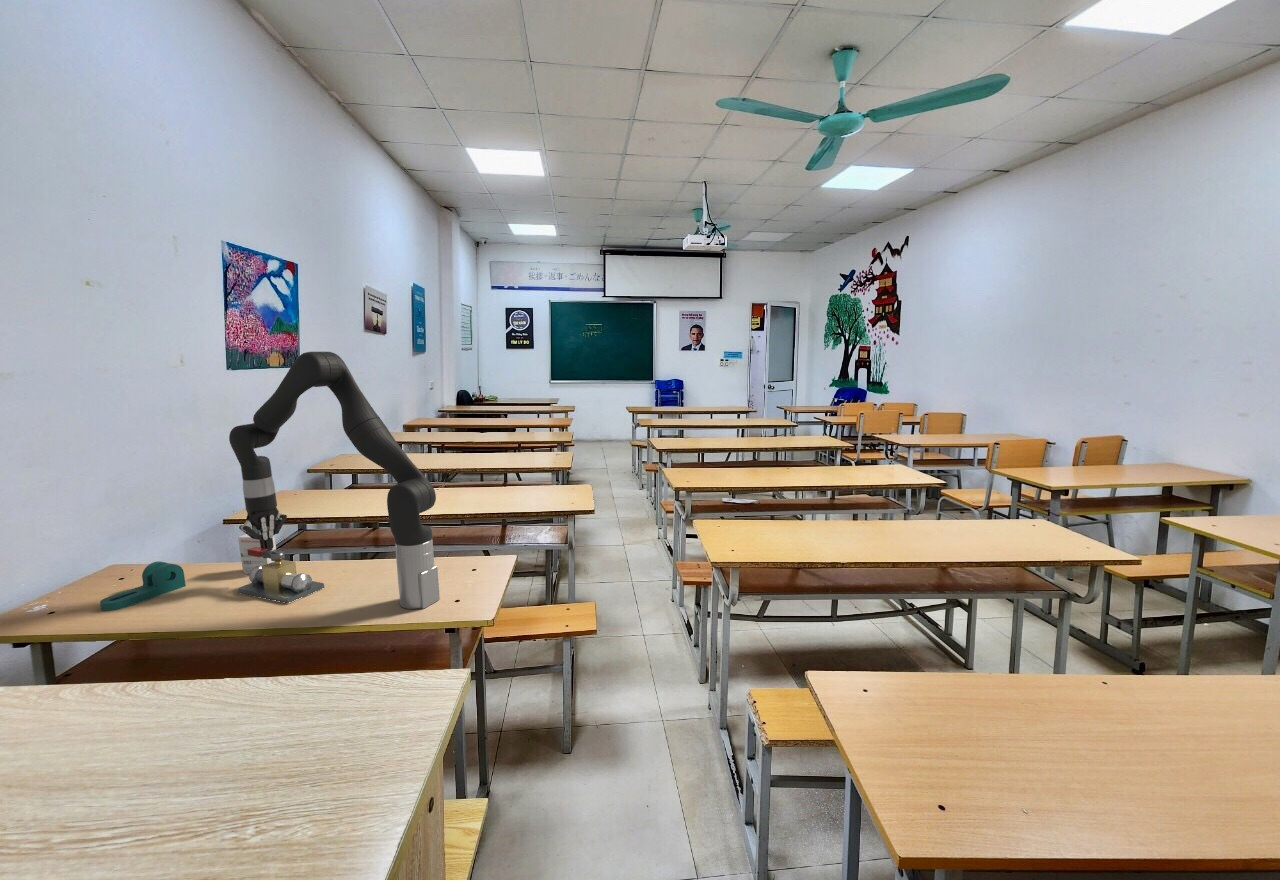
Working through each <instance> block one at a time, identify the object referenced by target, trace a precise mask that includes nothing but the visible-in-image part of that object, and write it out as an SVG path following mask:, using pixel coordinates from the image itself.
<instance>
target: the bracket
mask: <svg viewBox="0 0 1280 881" xmlns="http://www.w3.org/2000/svg"><path fill="white" fill-rule="evenodd" d="M184 571H185V570H184V569H183V568H182V566H180V565H178V564H175V563H168V562H165V561H153V562H151V563H150V564H148V565H146V567H144V569H143V571H142V574H141V578H142V585H140V586H137V587H133V588H131V589H128V590H125V591H122V592H118V593H116V594H112V595H110V596H107V597H105V598H102V599H101V600H100V601H99V605H100V609H101V611H103V612H112V611H118V610H123V609H125V608H129V607H131V606H134V605H137V604H140V603H143V602H145V601H148V600H151V599H154V598H156V597H159V596H163V595H166V594H167V593H168V594H169V593H171V592H173V591H174V592H175V591H176V590H180V589H182V588H185V587H186V578H185V572H184Z"/></svg>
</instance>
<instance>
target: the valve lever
mask: <svg viewBox="0 0 1280 881" xmlns="http://www.w3.org/2000/svg"><path fill="white" fill-rule="evenodd" d="M247 550H248V555H249V556H254V557H259V558H260V557H265V558H270V559H271V561H279V560H285V559H286V557H285V551H284V550H276V552H275V551H270V550H267V549H266V548H261V547H253V548H250V549H247Z"/></svg>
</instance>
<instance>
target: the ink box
mask: <svg viewBox="0 0 1280 881" xmlns="http://www.w3.org/2000/svg"><path fill="white" fill-rule="evenodd" d="M273 545H274V546H273V548H272V550H271V551H275V552H276V551H277V546H276V539H275V535H274V536H273ZM238 546H239V553H240V560H241V566H242V573H243V574H246V575H248V574H250V572H251V570H252V569H253V568H254V567H256V566H259V565H262V566H263V565H266V564H269V563H272V562H274V561H271V559H270V558H265V557H260V558H259V557H254V556H249V555H248V550H247V549H250V548H253V547H261V545H260V540H257V539H252V538H251V537H250V536H248V535H247V534H246V533H244V534H243V535H240V536H239V537H238Z"/></svg>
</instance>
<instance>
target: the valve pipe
mask: <svg viewBox="0 0 1280 881" xmlns="http://www.w3.org/2000/svg"><path fill="white" fill-rule="evenodd" d="M248 579H249V581H250V582H249V583H248V584H245V585H243V586H239V587H237V591H238V592H237V593H238V594H240V593H241V595H244V596H249V595H250V597H254V596H255V597H254V598H258V597H261V598H260V599H263V598H266V599H265V600H267V599H270V600H269V601H272V600H276V601H280V602H279V603H281V602H285V603H289V602H292V601H294V600H296V599H299V598H301V597H303V598H305V597H304V596H306V597H308V596H309V595H308V594H310V595H312V594H314V593H313V592H315V591H317V592H319V591H321V590H323V589H322V588H324V589H325V583H324V582H320V581H314V580H312V576H311V575H310V574H308V573H302V572H301V573H297V565H296V561H291V560H285V559H282V560H279V561H274V562H272V563H269V564H266V565H263V566H262V565H259V566H256V567H254V568H253V569H252V570H251V572H250V574H249V575H248ZM320 589H321V590H320ZM318 590H319V591H318ZM311 593H312V594H311ZM315 593H316V592H315ZM307 595H308V596H307ZM301 599H302V598H301ZM299 600H300V599H299ZM276 601H275V602H276ZM294 602H295V601H294ZM285 603H284V604H285ZM292 603H293V602H292Z"/></svg>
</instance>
